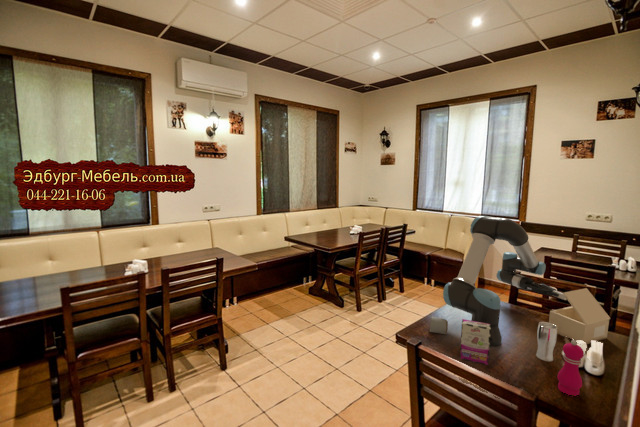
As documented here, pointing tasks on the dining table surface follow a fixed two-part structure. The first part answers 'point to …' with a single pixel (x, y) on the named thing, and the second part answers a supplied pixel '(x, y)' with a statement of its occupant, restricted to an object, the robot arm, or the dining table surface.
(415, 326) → the dining table surface
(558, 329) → the carton
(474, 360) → the candy bar box
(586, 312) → the carton lid
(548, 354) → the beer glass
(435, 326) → the grey rounded block
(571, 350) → the pepper mill
